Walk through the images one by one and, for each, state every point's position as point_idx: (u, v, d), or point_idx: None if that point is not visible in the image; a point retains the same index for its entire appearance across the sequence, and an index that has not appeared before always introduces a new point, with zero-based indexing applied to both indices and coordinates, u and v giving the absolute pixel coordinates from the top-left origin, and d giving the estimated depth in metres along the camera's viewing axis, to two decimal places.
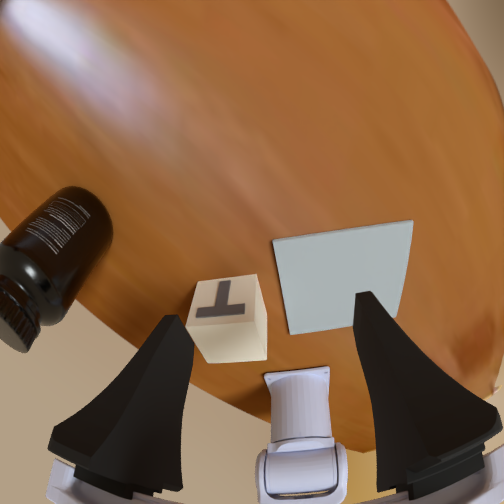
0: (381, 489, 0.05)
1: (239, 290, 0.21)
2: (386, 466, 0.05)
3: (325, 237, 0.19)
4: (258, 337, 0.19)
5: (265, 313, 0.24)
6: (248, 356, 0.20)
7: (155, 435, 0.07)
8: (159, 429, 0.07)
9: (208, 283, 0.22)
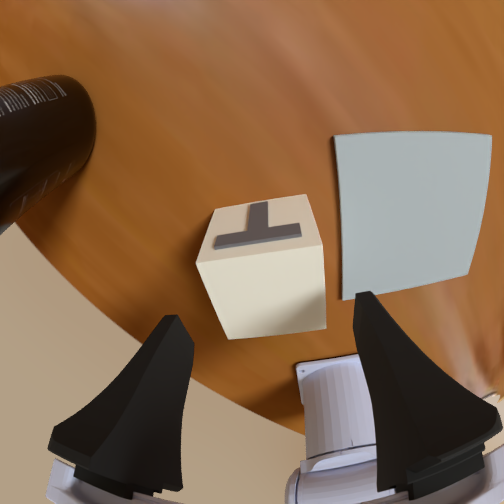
0: (381, 489, 0.05)
1: (284, 211, 0.13)
2: (386, 466, 0.05)
3: (403, 137, 0.11)
4: (323, 281, 0.11)
5: None
6: (299, 323, 0.13)
7: (155, 435, 0.07)
8: (159, 429, 0.07)
9: (232, 209, 0.14)
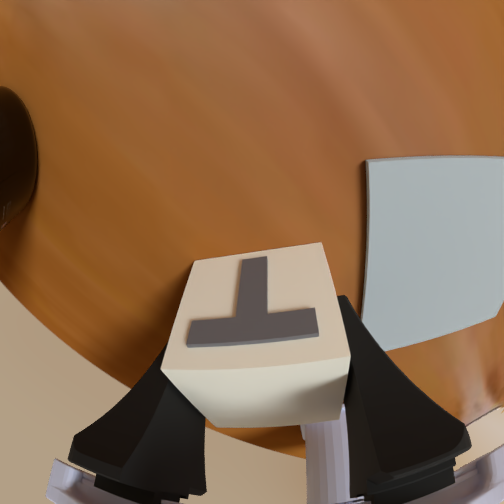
0: (352, 496, 0.06)
1: (291, 277, 0.09)
2: (354, 473, 0.06)
3: (456, 164, 0.07)
4: (343, 387, 0.07)
5: None
6: (305, 418, 0.08)
7: (182, 439, 0.07)
8: (185, 432, 0.07)
9: (216, 265, 0.10)
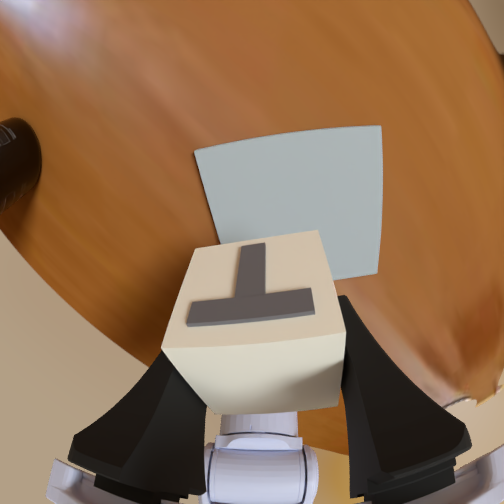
0: (352, 495, 0.06)
1: (289, 261, 0.09)
2: (355, 473, 0.06)
3: (260, 142, 0.14)
4: (340, 368, 0.07)
5: None
6: (303, 404, 0.09)
7: (181, 439, 0.07)
8: (185, 432, 0.07)
9: (216, 251, 0.11)
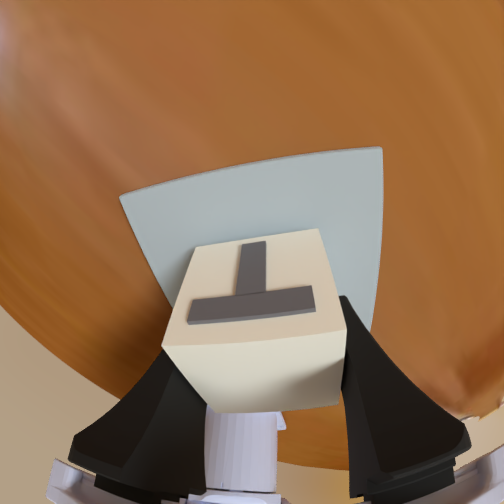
0: (352, 496, 0.06)
1: (289, 259, 0.09)
2: (354, 473, 0.06)
3: (200, 182, 0.10)
4: (341, 366, 0.07)
5: None
6: (304, 402, 0.09)
7: (182, 439, 0.07)
8: (185, 432, 0.07)
9: (217, 250, 0.11)
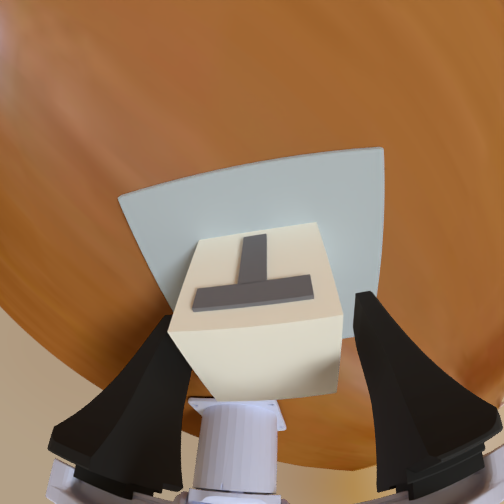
0: (381, 489, 0.05)
1: (289, 251, 0.10)
2: (386, 466, 0.05)
3: (199, 182, 0.10)
4: (338, 352, 0.08)
5: None
6: (303, 390, 0.09)
7: (155, 435, 0.07)
8: (159, 429, 0.07)
9: (220, 242, 0.11)
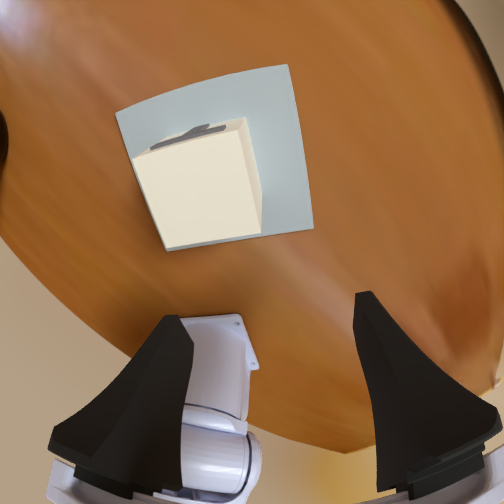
0: (381, 489, 0.05)
1: (220, 125, 0.13)
2: (386, 466, 0.05)
3: (168, 96, 0.14)
4: (245, 171, 0.11)
5: (259, 184, 0.16)
6: (230, 224, 0.13)
7: (155, 435, 0.07)
8: (159, 429, 0.07)
9: (179, 133, 0.14)
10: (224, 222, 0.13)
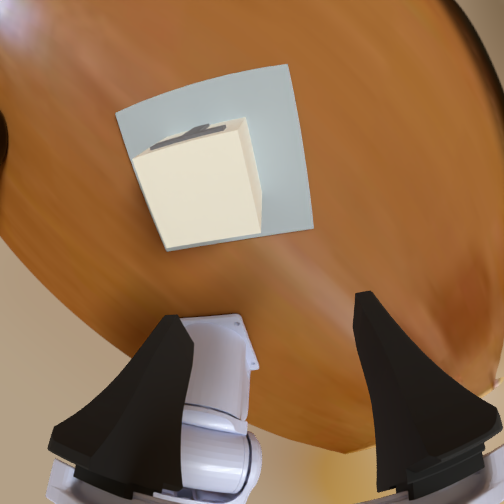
0: (381, 489, 0.05)
1: (220, 125, 0.13)
2: (386, 466, 0.05)
3: (168, 96, 0.14)
4: (245, 171, 0.11)
5: (259, 184, 0.16)
6: (230, 224, 0.13)
7: (155, 435, 0.07)
8: (159, 429, 0.07)
9: (179, 133, 0.14)
10: (224, 222, 0.13)
